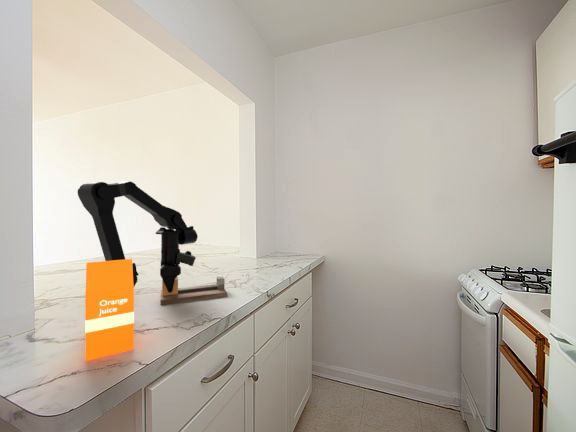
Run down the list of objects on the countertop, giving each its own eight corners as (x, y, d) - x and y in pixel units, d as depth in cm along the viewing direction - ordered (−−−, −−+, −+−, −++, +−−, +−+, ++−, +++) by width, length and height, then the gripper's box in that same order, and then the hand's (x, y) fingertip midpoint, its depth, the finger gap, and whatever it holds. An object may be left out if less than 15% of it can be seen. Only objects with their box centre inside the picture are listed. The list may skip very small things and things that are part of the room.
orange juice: (87, 345, 60) (86, 259, 60) (131, 335, 66) (131, 256, 65) (85, 362, 54) (84, 265, 54) (134, 349, 59) (134, 261, 59)
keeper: (177, 294, 92) (178, 279, 92) (162, 295, 90) (162, 281, 90) (177, 290, 96) (177, 276, 96) (162, 292, 94) (162, 277, 94)
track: (226, 296, 96) (227, 281, 96) (160, 304, 87) (160, 288, 87) (220, 287, 107) (220, 274, 107) (160, 294, 97) (160, 279, 97)
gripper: (196, 248, 88) (196, 294, 88) (191, 242, 105) (191, 280, 105) (160, 250, 83) (160, 299, 84) (160, 243, 100) (160, 284, 100)
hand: (170, 289), depth 93 cm, fingers open, 6 cm apart
